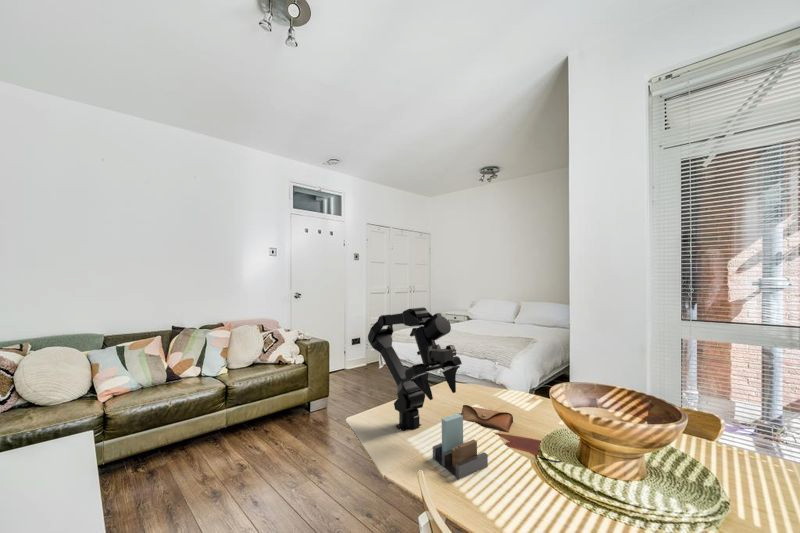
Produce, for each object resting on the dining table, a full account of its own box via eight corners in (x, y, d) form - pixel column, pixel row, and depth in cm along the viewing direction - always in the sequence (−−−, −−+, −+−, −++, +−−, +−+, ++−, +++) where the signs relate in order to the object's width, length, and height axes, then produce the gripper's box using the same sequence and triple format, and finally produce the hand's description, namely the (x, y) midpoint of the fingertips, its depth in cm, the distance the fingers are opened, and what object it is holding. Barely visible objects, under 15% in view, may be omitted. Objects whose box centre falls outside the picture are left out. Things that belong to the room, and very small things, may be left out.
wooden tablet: (562, 447, 96) (562, 442, 96) (563, 466, 87) (563, 459, 87) (473, 429, 107) (473, 424, 107) (466, 444, 98) (466, 438, 98)
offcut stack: (452, 465, 85) (451, 441, 85) (467, 459, 88) (467, 435, 88) (461, 473, 82) (460, 447, 82) (477, 466, 85) (476, 441, 85)
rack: (432, 460, 89) (432, 446, 89) (460, 450, 94) (459, 436, 94) (458, 482, 79) (458, 466, 80) (487, 469, 85) (487, 454, 85)
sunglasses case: (456, 421, 112) (458, 401, 115) (461, 424, 117) (463, 405, 120) (510, 432, 104) (511, 410, 107) (512, 435, 109) (513, 414, 112)
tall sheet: (442, 458, 88) (441, 418, 89) (458, 452, 91) (458, 413, 92) (446, 462, 87) (446, 421, 87) (463, 455, 90) (462, 416, 90)
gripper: (417, 340, 90) (435, 397, 84) (463, 333, 101) (482, 383, 95) (397, 352, 98) (412, 405, 92) (442, 344, 109) (459, 391, 102)
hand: (443, 396), depth 95 cm, fingers open, 9 cm apart
